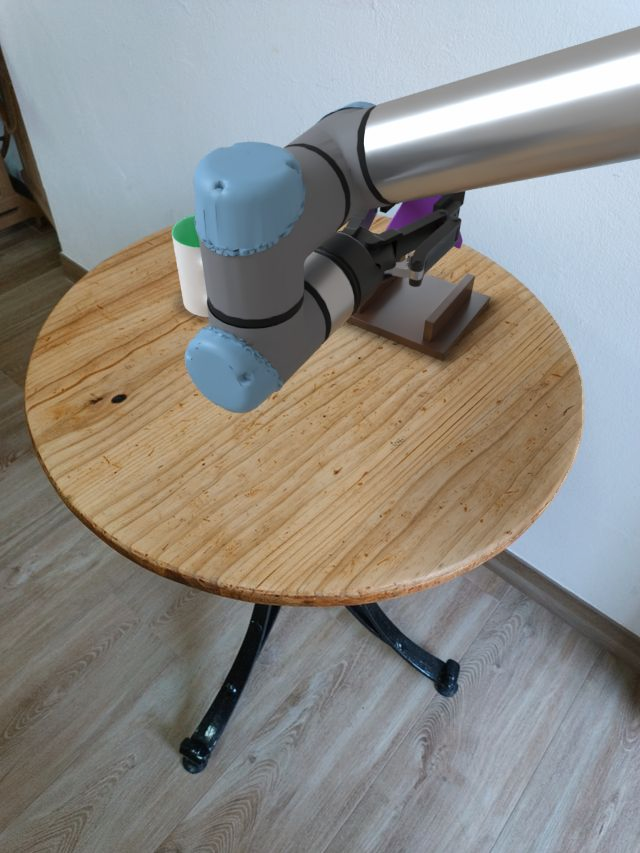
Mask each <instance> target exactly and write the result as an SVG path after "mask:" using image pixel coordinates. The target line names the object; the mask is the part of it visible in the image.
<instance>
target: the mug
mask: <svg viewBox="0 0 640 853" xmlns="http://www.w3.org/2000/svg"><path fill="white" fill-rule="evenodd" d="M194 220H195V214H191V215H189V216H185V217H183V218H181V219H180V220H178V221H177V222H176V223H175V224H174V225H173V227H172V229H171V238H172V244H173V249H174V255H175V261H176V267H177V273H178V279H179V285H180V291H181V296H182V297H181V298H182V302H183V303H182V304H183V306H184V307H185V310H187V311H188V312H189V313H191V314H192V315H195V316H197V317H203V318H209V316H208V309H207V292H206V285H205V278H204V271H203V264H202V257H201V250H200V243H199V237H198V234H197V231H196V227H195V223H194Z"/></svg>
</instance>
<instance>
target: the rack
mask: <svg viewBox="0 0 640 853" xmlns="http://www.w3.org/2000/svg"><path fill="white" fill-rule="evenodd" d="M406 258H407V255H405V256H403V257H402V258H401V259H400V261H399V262H402V261H404V260H405V259H406ZM475 280H476V275H474V274H471V273H469V272H467V273H466V274H465V275H464V276H463V277H462V278H461V279H460V280H459V282H458V283H457V284H456V283H453V282H451V281H448V280H445V279H443V278H440V277H438V276H434V275H431V274H428V273H427V272H426V273H425V274H424V277H423V280H422V284H421V286H419V287H413V286H411V285H409V278H404V277H398V276H394V277H393V278H392V279H391V280H389V281H386V282H383V283H381V284H380V285H379V286H378V288H377V289H376V291H375V292H374V294H373V295H372V296H371V297H370V299H369V300H368V301H367V302H365V303H364V304H363V305H362V306H361V307H360V308H359V309H358V310H357V311H356V312H355V313H354V314H353V315H352V316H350V317H349V318H348V319H347V320H346V322H345V323H348V324H351V325H352V326H355V327H359V328H360V329H363V330H366V331H368V332H369V333H372V334H375V335H378V336H380V337H383V338H385V339H387V340H389V341H392V342H395V343H397V344H400V345H402V346H405V347H407V348H409V349H412V350H414V351H416V352H419V353H422V354H424V355H427V356H429V357H432V358H433V359H436V360H439V361H441V362H443V361H444V360H445V359H446V357H447V356H448V355H449V354H450V352H451V351H452V350H453V349H454V347H456V345H457V344H458V343H459V342H460V341H461V339H462V338H463V337H464V335H465V334H466V333H467V332H468V330H469V329H471V327H472V325H473V324H474V323H475V322H476V321H477V319H478V318H479V317H480V316H481V314H482V313H484V311H485V309H486V308H487V307H488V306H489V305H490V301H491V296H490V295H487V294H484V293H481V292H478V291H476V290H474V284H475Z"/></svg>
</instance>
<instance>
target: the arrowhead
mask: <svg viewBox="0 0 640 853" xmlns="http://www.w3.org/2000/svg"><path fill="white" fill-rule="evenodd" d="M442 196H443V195H441V196H435V197H430V198H424V199H419V200H413V201H408V202H402V203H400V206H399V207H398V209H397V210H396V212H395V214H394V215H393V217H392V218H391V220H390V222H389V223H388V225H387V227H386V228H385V230H384V231H386V230H388V229H390V228H394V229H396V230H397V229H399V228H401V227H404V226H406V225H408V224H410V223H412V222H414V221H416V220H418V219H420V218H422V217H424V216H426V215H428V214H430V213H432V212H433V206H434V204H435V203H436V202H437V201H438V200H439V199H440V198H441V197H442ZM461 233H462V232H461V231H460V232H459V238H458V243H457V244H456V245H455V246H454V247H453V248H456V249H457V250H460V249H461V247H462V244H463V241H464V240H463V237H462V234H461Z"/></svg>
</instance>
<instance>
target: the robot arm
mask: <svg viewBox="0 0 640 853" xmlns="http://www.w3.org/2000/svg"><path fill="white" fill-rule="evenodd" d="M637 160H640V25H637V26H635V27H632V28H631V27H630V28H628V29H624V30H622V31H618V32H614V33H612V34H611V33H610V34H608V35H605V36H601V37H598V38H595V39H591V40H588V41H584V42H581V43H577V44H573V45H571V46H568V47H565V48H561V49H557V50H555V51H551V52H548V53H545V54H542V55H538V56H535V57H532V58H527V59H525V60H521V61H517V62H514V63H512V64H508V65H505V66H501V67H498V68H495V69H492V70H488V71H485V72H482V73H478V74H474V75H471V76H468V77H465V78H461V79H458V80H455V81H452V82H448V83H445V84H441V85H438V86H435V87H431V88H428V89H425V90H421V91H418V92H414V93H411V94H408V95H405V96H402V97H398V98H395V99H392V100H387V101H384V102H382V103H378V104H375V103H372V102H368V101H354V102H350V103H347V104H345V105H344V106H342V107H339V108H336V109H335V110H333V111H330V112H328V113H326V114H324V115H322V117H321V118H320V119H319V120H318V121H317V122H316V123H315V124H314V125H312V126H311V127H309V128H308V129H307V130H306V131H304V132H303V133H301V134H300V135H299V136H297V137H296V138H295V139H293V140H292V141H291V142H289V143H287V144H286V145H285V146H284V147H282V146H278V145H275V144H271V143H268V142H262V141H244V142H241V141H240V142H234V143H233V144H232V146H231V145H230V146H227V147H226V146H225V147H224V146H222V147H221V146H220V147H217V148H215V149H213V150H211V151H210V152H208V153H207V154H205V155H204V156H203V157H202V158H201V159H200V161H199V162H198V163H197V165H196V167H195V170H194V173H193V180H192V181H193V193H194V208H195V209H194V215H195V220H194V223H195V227H196V231H197V234H198V237H199V243H200V250H201V257H202V264H203V271H204V278H205V285H206V292H207V309H208V316H209V317H208V323H207V325H206V326H205V327H202V328H200V329H199V331H198V332H197V333H196V335H195V336H194V337H193V338H192V339H191V340H190V341H189V343H188V344H187V346H186V349H185V353H184V364H185V368H186V371H187V374H188V376H189V378H190V380H191V381H192V383H193V384H194V386H195V387H196V388H197V390H198V391H199V392H200V393H201V394H202V395H203V396H204V398H206V399H207V400H208V401H210V402H211V403H212V404H213V405H215V406H218V407H220V408H222V409H224V410H225V411H227V412H230V413H234V414H245V413H251V412H252V411H254V410H256V409H257V408H258V407H259V406H261V405H262V404H263V403H264V402H265V401H266V400H267V399H269V398H270V397H271V396H272V395H273V394H274V393H278V392H279V391H281V389H282V388H283V387H284V386H285V384H286V383H287V382H288V381H289V380H290V379H291V378H292V377H293V376H294V375H295V374H296V373H297V372H298V371H299V370H300V368H301V367H303V366H304V365H305V363H306V362H308V361H309V360H310V358H311V357H312V356H313V355H314V354H315V353H316V352H318V350H319V349H320V348H321V347H322V346H323V344H325V343H326V342H327V341H328V340H329V339H330V338H331V337H332V335H334V334H335V333H336V332H337V331H338V330H339V329H340V328H341V327H342V326H343V325H344V324H345V323H347V322H346V320H347V319H348V318H349V317H350V316H352V315H353V314H354V313H355V312H356V311H357V310H358V309H359V308H360V307H361V306H362V305H363V304H364V303H365V302H367V301H368V300H369V299H370V297H371V296H372V295H373V294H374V292H375V291H376V289H377V288H378V286H379V285H380V284H381V283H383V282H386V281H389V280H391V279H392V278H393V277H394V276H398V277H404V278H409V285H411V286H413V287H419V286H421V284H422V280H423V277H424V274H425V273H426V274H427V273H428V272H429V271H430V269H432V267H434V266H435V265H436V264H437V263H438V262H439V261H440V260H441V259H442V258H443V257H444V256H446V255H447V253H449V251H451V250H452V249H453V248H455V247H454V246H455V245H456V244H457V243H458V238H459V232H460V233H461V226H462V221H463V220H462V218H461V217H460V212H461V207H462V206H463V205H464V204H465V203H464V202H465V196H466V192H467V191H474V190H478V189H484V188H489V187H495V186H499V185H506V184H510V183H516V182H522V181H528V180H532V179H536V178H537V179H538V178H543V177H550V176H554V175H560V174H565V173H572V172H576V171H577V172H578V171H581V170H582V171H583V170H587V169H593V168H597V167H598V168H599V167H604V166H609V165H615V164H620V163H626V162H630V161H631V162H632V161H637ZM441 195H443V196H442V197H441V198H440V199H439V200H438V201H437V202H436V203H435V204H434V206H433V212H432V213H430V214H428V215H426V216H424V217H422V218H420V219H418V220H416V221H414V222H412V223H410V224H408V225H406V226H404V227H401V228H399V229H397V230H396V229H394V228H390V229H388V230H386V229H385V230H386V231H385V230H384V231H382V232H380V233H375V232H372V231H370V228H371V226H372V225H373V223H374V221H375V218H376V216H377V214H378V212H380V213H383V214H387V213H388V212H389V211H390V210H392V209H393V208H394V207H395V206H396V205H400V204H402V203H403V202H408V201H413V200H419V199H424V198H430V197H435V196H441ZM341 228H342V230H340V229H341ZM405 255H406V256H407V257H406V259H405V260H404V261H402V262H399V261H400V259H401V258H402V257H403V256H405Z"/></svg>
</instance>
